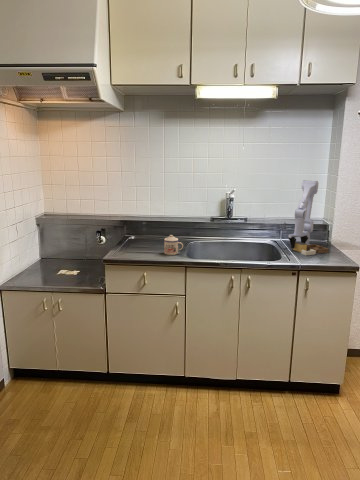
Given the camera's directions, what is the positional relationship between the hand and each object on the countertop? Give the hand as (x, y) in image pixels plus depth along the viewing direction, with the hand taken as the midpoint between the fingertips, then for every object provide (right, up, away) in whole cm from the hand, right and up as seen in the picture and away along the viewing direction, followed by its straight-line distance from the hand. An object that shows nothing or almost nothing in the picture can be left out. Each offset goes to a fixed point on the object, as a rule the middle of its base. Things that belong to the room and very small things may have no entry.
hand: (297, 247), depth 240 cm
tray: (+12, -2, -1) cm, 12 cm away
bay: (+4, -4, -9) cm, 10 cm away
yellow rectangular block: (+1, -2, -1) cm, 3 cm away
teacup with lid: (-81, -4, -12) cm, 82 cm away
